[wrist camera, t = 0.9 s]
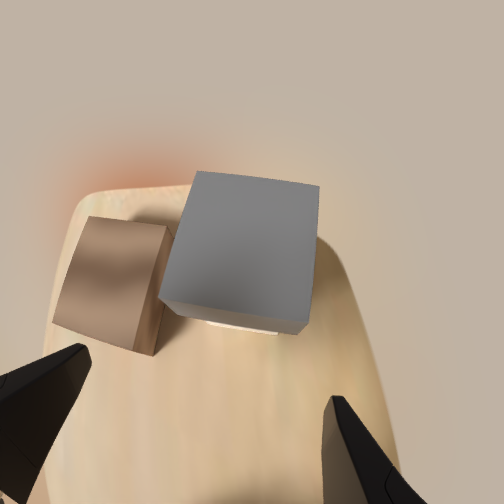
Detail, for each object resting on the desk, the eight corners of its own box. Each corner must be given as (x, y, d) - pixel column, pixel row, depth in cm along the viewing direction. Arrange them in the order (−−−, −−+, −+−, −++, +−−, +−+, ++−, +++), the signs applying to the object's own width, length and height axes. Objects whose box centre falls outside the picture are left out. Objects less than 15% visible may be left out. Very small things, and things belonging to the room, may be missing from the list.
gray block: (296, 335, 17) (308, 322, 13) (177, 314, 17) (157, 297, 14) (308, 220, 20) (319, 186, 16) (205, 206, 21) (196, 170, 17)
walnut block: (152, 356, 22) (132, 351, 18) (79, 333, 23) (52, 322, 19) (179, 249, 26) (166, 225, 22) (108, 238, 27) (88, 216, 23)
